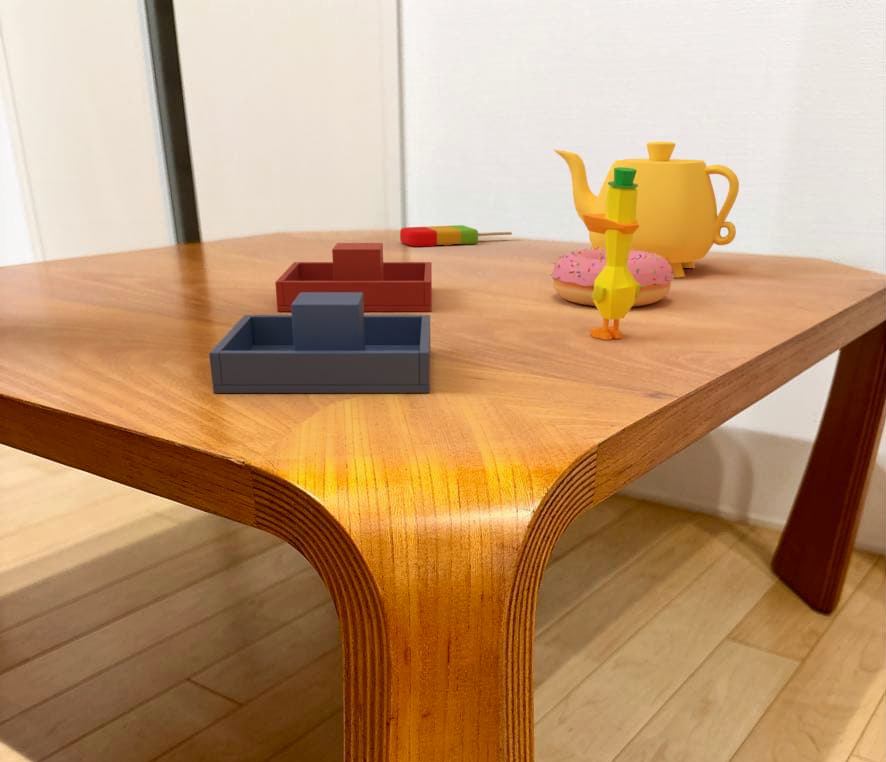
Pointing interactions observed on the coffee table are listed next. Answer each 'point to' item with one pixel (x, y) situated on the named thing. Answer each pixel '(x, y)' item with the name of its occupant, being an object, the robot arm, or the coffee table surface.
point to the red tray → (362, 286)
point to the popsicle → (442, 235)
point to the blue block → (328, 321)
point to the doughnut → (584, 266)
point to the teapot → (664, 204)
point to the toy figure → (615, 253)
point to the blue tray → (323, 359)
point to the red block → (358, 262)
